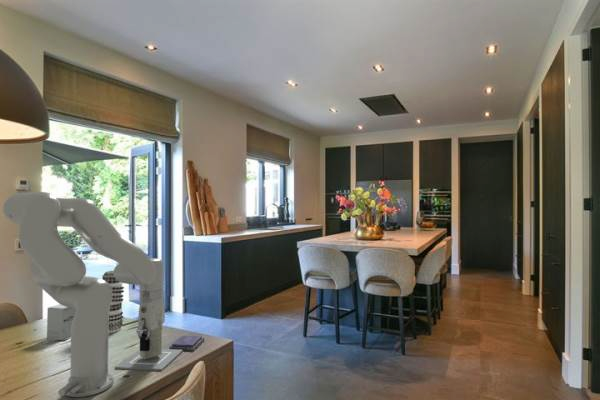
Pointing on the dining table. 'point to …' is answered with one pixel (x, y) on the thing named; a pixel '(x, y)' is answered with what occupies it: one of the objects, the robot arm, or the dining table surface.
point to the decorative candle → (115, 302)
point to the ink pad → (187, 343)
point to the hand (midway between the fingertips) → (150, 345)
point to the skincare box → (154, 342)
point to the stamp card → (149, 361)
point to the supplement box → (59, 322)
